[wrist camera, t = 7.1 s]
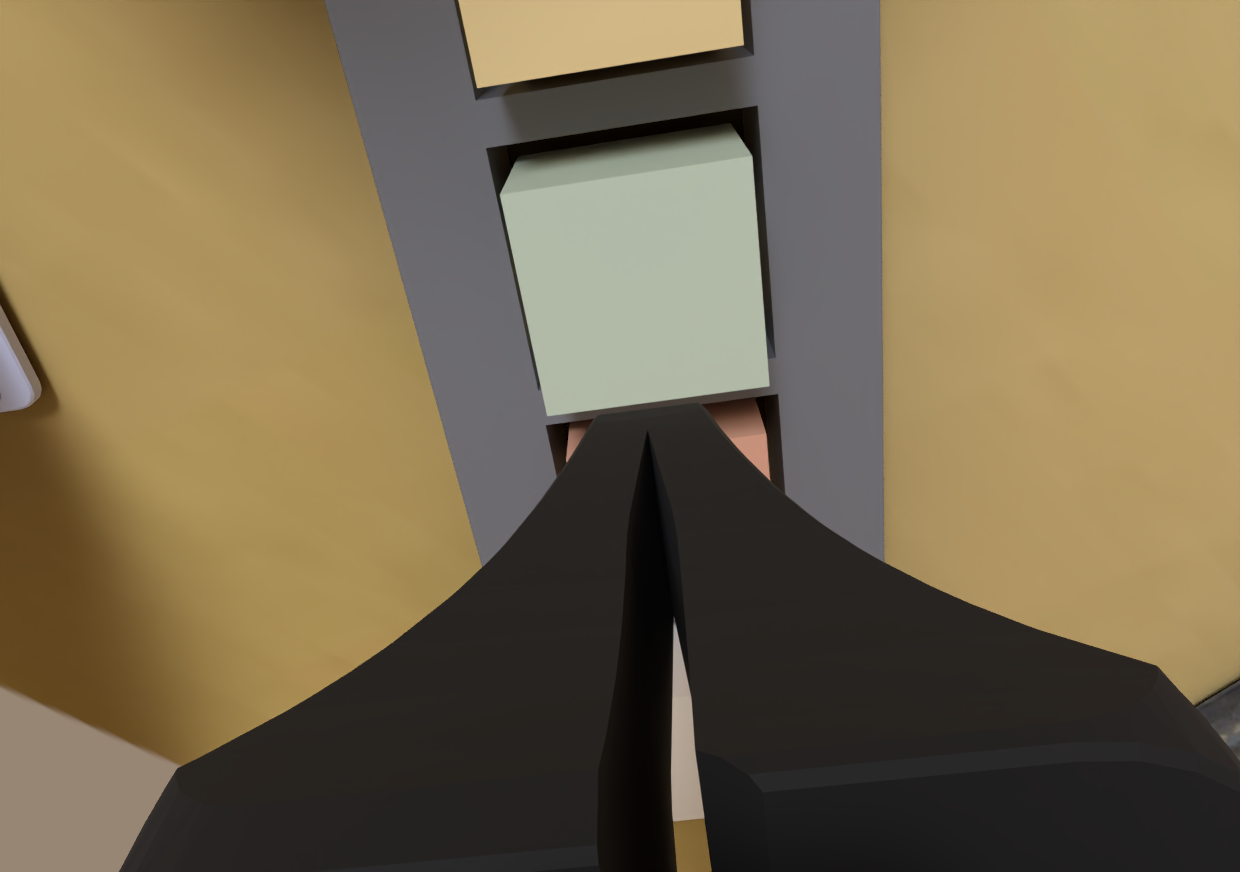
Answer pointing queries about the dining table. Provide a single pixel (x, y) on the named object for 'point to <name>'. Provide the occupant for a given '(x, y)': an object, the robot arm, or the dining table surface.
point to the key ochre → (589, 34)
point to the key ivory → (683, 745)
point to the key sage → (640, 268)
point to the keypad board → (616, 97)
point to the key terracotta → (732, 418)
